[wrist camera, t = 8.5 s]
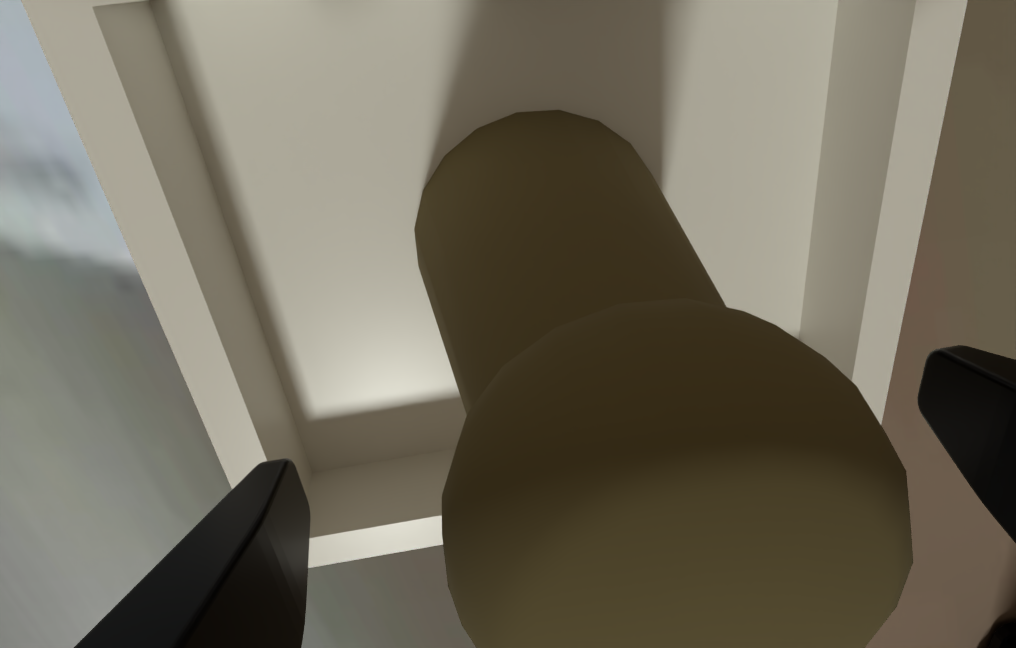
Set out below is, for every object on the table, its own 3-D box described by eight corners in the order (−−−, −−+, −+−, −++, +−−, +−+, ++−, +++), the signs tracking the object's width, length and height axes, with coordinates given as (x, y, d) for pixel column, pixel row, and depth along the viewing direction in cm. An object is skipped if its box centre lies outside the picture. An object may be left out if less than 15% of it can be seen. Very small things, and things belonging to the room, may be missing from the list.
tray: (874, -152, 14) (1005, -187, 11) (804, 394, 20) (872, 469, 17) (96, -51, 13) (-4, -58, 10) (292, 481, 20) (269, 574, 17)
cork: (421, 95, 14) (415, 369, 4) (688, 123, 15) (1173, 400, 5) (407, 341, 17) (386, 839, 7) (633, 351, 18) (885, 805, 8)
